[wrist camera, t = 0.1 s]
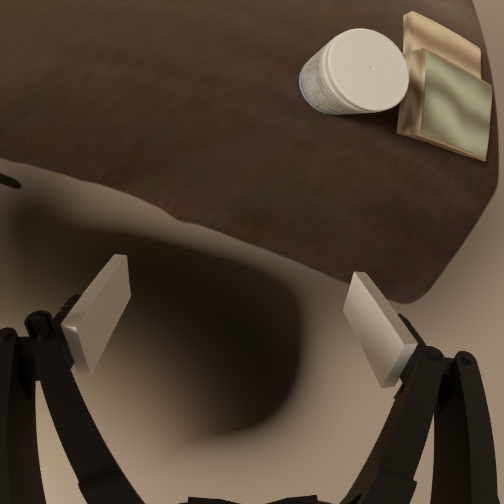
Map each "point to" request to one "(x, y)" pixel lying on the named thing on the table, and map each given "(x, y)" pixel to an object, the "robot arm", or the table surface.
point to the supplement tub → (355, 74)
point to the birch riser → (444, 89)
